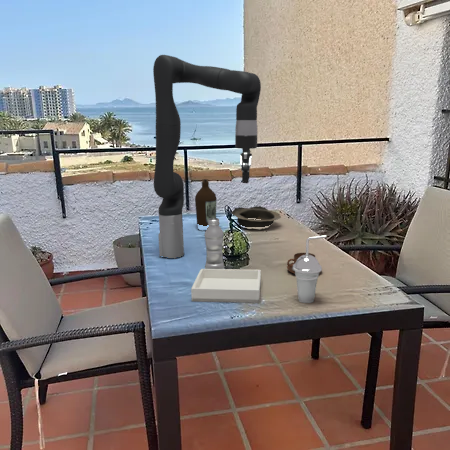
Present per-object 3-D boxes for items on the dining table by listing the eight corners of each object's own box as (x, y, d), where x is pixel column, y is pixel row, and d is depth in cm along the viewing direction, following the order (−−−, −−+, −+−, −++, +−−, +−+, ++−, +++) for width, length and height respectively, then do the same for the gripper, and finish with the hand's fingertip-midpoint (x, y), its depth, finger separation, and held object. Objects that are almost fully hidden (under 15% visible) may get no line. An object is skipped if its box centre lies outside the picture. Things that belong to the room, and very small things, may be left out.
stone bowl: (234, 220, 232) (235, 204, 230) (280, 224, 229) (281, 207, 227) (228, 231, 209) (229, 212, 207) (279, 235, 206) (281, 217, 204)
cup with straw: (300, 292, 133) (302, 229, 128) (327, 299, 127) (330, 233, 123) (286, 301, 127) (287, 235, 122) (313, 308, 121) (316, 240, 116)
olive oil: (191, 229, 217) (189, 179, 211) (207, 225, 224) (206, 177, 218) (205, 232, 209) (204, 181, 203) (221, 228, 216) (220, 179, 211)
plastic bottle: (204, 272, 152) (203, 217, 148) (223, 271, 153) (222, 216, 148) (205, 278, 146) (203, 221, 142) (225, 277, 147) (224, 220, 142)
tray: (191, 301, 128) (191, 288, 127) (201, 280, 145) (200, 268, 144) (259, 303, 126) (259, 290, 125) (260, 281, 143) (260, 269, 142)
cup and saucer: (300, 280, 143) (301, 263, 142) (280, 270, 154) (280, 253, 152) (328, 274, 149) (329, 257, 147) (307, 265, 159) (307, 249, 158)
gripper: (236, 133, 154) (236, 178, 158) (234, 134, 140) (233, 184, 144) (257, 133, 153) (256, 178, 157) (257, 134, 139) (256, 184, 143)
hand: (245, 181), depth 150 cm, fingers open, 8 cm apart
